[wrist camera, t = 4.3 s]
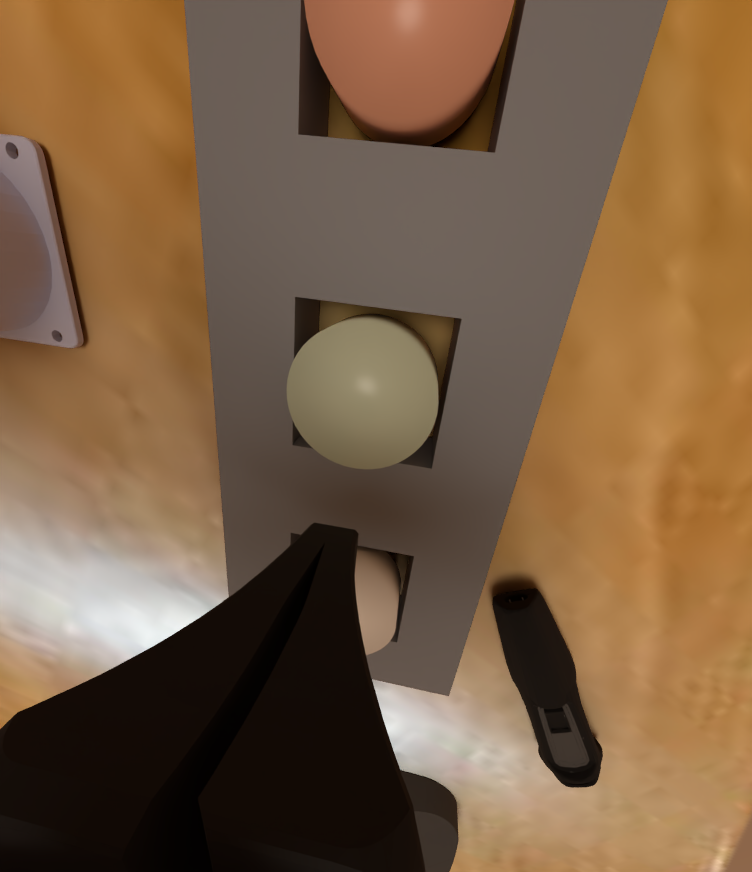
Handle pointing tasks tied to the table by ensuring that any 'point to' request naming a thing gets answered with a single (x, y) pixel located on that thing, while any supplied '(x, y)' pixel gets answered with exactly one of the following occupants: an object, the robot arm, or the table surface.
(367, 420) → the sage button
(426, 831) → the media streaming box
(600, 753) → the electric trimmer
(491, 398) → the button panel
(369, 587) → the cream button
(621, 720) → the table surface
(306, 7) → the terracotta button
